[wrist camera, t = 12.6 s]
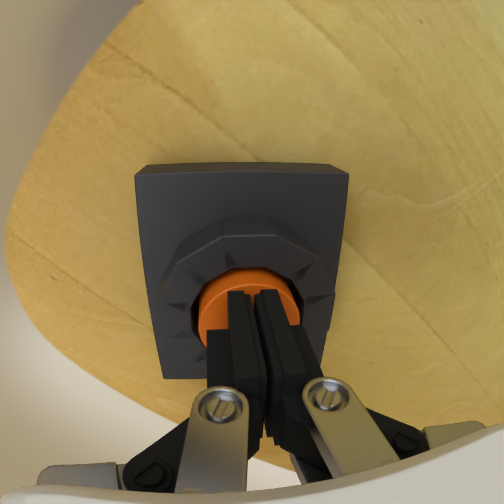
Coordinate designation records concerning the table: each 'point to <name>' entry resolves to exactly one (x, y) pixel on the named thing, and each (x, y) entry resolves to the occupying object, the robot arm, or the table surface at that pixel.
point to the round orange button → (250, 282)
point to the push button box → (236, 243)
